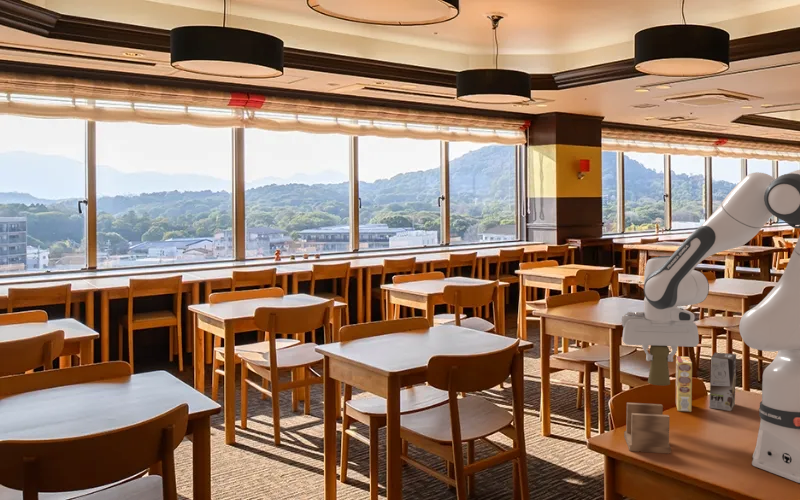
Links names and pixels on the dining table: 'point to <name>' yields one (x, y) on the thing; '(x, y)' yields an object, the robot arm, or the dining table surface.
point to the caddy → (647, 428)
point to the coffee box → (722, 381)
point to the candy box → (683, 383)
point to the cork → (659, 366)
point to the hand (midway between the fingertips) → (659, 360)
